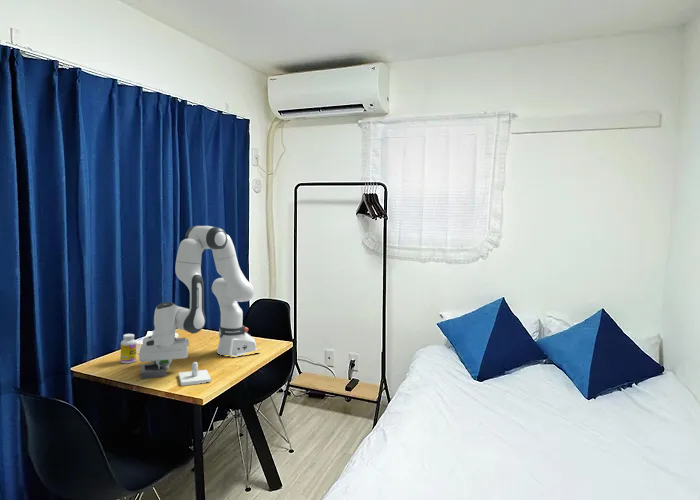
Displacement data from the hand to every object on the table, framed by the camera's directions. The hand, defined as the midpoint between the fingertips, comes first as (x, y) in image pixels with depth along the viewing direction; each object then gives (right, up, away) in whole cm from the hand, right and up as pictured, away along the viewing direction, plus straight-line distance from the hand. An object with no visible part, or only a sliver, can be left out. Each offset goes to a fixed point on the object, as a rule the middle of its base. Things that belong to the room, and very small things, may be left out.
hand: (163, 369), depth 197 cm
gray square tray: (-4, -2, -2) cm, 4 cm away
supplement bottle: (-22, 0, +12) cm, 25 cm away
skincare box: (-6, -1, +12) cm, 13 cm away
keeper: (+16, -3, -5) cm, 17 cm away
